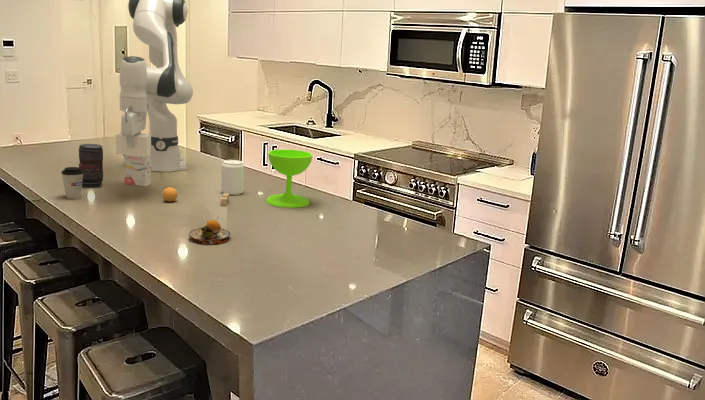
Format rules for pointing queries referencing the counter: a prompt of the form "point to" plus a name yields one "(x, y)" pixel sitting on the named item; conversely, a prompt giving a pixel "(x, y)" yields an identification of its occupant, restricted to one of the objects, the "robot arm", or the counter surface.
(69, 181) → the coffee cup
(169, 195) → the ball
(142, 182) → the ink cartridge box
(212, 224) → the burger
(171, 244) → the counter surface
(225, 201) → the oak stop strip
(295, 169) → the wineglass
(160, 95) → the robot arm
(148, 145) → the matte white cuboid
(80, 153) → the camera lens
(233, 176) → the beverage can
